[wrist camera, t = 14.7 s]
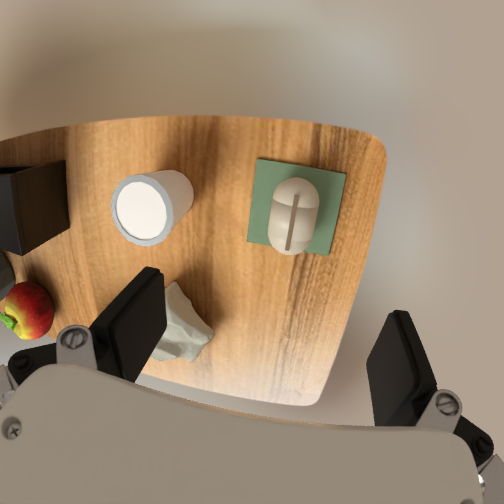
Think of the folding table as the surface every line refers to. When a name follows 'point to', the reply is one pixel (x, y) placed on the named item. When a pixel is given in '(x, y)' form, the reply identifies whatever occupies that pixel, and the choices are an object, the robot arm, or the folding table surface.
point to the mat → (328, 191)
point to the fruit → (28, 310)
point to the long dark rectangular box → (32, 205)
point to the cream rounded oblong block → (293, 216)
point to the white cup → (151, 205)
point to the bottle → (5, 276)
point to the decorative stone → (181, 329)
